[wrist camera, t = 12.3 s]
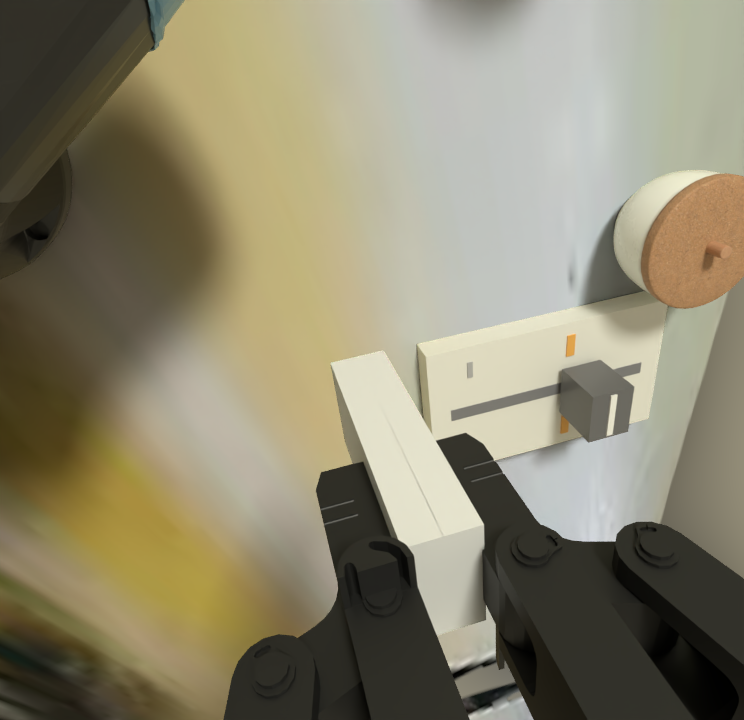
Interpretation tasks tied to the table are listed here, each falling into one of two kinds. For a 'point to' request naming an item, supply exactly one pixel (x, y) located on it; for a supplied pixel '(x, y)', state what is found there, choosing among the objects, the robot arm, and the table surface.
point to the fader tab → (595, 400)
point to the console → (536, 371)
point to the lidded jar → (683, 237)
